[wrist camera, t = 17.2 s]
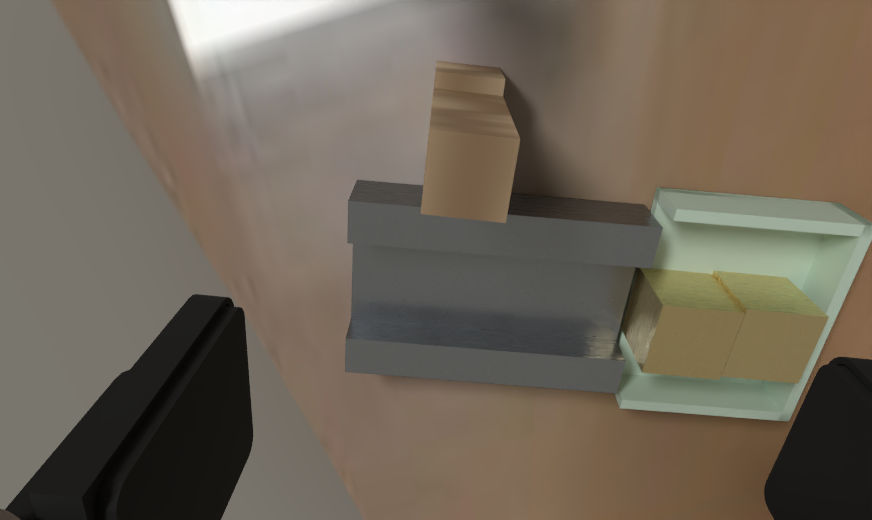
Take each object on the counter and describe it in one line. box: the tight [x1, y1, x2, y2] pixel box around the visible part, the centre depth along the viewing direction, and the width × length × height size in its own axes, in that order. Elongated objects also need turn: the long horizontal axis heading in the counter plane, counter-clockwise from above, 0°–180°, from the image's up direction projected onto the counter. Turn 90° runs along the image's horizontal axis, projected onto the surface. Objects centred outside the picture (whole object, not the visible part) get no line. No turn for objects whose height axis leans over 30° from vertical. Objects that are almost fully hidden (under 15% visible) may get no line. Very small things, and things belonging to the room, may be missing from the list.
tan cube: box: [622, 268, 745, 380], centre depth 31 cm, size 4×4×4 cm
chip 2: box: [713, 271, 829, 383], centre depth 31 cm, size 4×4×4 cm
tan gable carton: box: [421, 61, 520, 223], centre depth 25 cm, size 3×4×10 cm
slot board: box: [345, 180, 663, 393], centre depth 32 cm, size 15×10×3 cm, turn 85°
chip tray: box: [614, 187, 872, 422], centre depth 32 cm, size 10×12×3 cm
